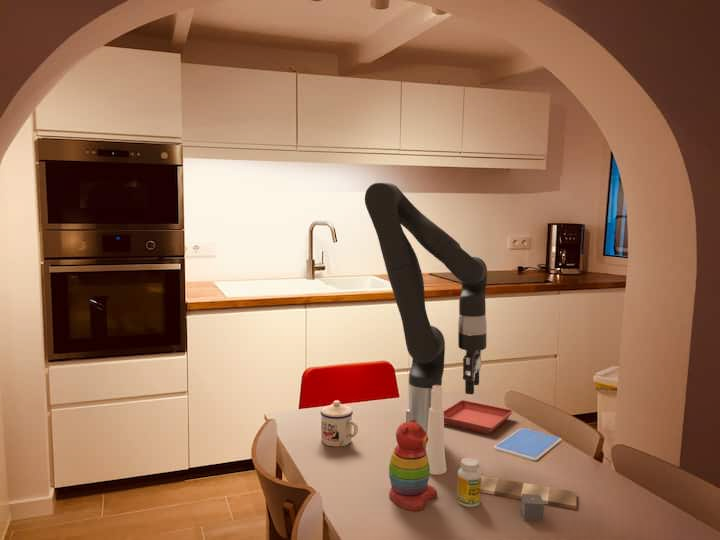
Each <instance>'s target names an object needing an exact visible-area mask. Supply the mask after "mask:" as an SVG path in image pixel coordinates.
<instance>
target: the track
mask: <svg viewBox="0 0 720 540" xmlns="http://www.w3.org/2000/svg"><path fill="white" fill-rule="evenodd" d="M482 493H484V494H489V495H494V496H498V497H505V498H510V499H516V500H522V494H531V495H540V496H541V498H542V500H543V503H544V505H550V506H556V507H560V508H566V509H571V510H577V491H573V490H569V489H561V488H555V487H549V486H545V485H539V484H532V483H527V482H520V481H514V480H511V479H510V480H509V479H503V478H497V477H492V476H486V475H481V494H482Z"/></svg>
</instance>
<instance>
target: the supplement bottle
mask: <svg viewBox="0 0 720 540" xmlns="http://www.w3.org/2000/svg"><path fill="white" fill-rule="evenodd" d="M479 463H480V462H479V460H477V459H475V458H471V457H466V458H462V459H461V461H460V468H459V469H458V470H457V483H456V484H457V487H456V490H457V491H456V492H457V493H456V496H457V497H456V500H457V503H458V504H459V505H461V506H463V507H466V508H468V507H469V508H474V507H477V506H479V505H480V503H481V501H482V500H481V498H482V497H481V496H482V492H481V476H482V472H481V470H480V469H479V468H480V467H479V466H480V464H479Z"/></svg>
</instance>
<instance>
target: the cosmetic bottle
mask: <svg viewBox="0 0 720 540" xmlns="http://www.w3.org/2000/svg"><path fill="white" fill-rule="evenodd" d="M444 411H445V409H444V408H443V389H441V386H440V385H433V389H432V390H431V407H430V408H429V417H428V430H427V435H428V442H427V444H426V448H425V449H426V453H427V456H428V462H429V467H430V474H429V475H432V476H433V475H434V476H438V475H444V474H446V472H447V469H448V468H447V463H446V455H445V454H446V451H445V423H444Z"/></svg>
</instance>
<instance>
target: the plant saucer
mask: <svg viewBox="0 0 720 540" xmlns="http://www.w3.org/2000/svg"><path fill="white" fill-rule="evenodd" d="M513 413H514V410H512V409H508V408H503V407H499V406H495V405H489V404H483V403H479V402H476V401H475V402H474V401H470V400H463V399H461V400H459V401H458V402H456V403H455V404H453V405H451V406H450V407H448V408H447V409H444V424H445V423H446V424H445V425H449V424H450V426H453V425H454V426H453V427H457V426H458V428H461V427H462V429H465V428H466V430H471V431H474V432H477V433H478V432H479V433H482V434H487V435H488V434H490V433H491V432H493V431H494V430H495V429H496V428H498V427H499V426H500V425H501V424H503V423H504V422H505V421H506V420H508V419H509V417H510V416H511V415H512V414H513Z"/></svg>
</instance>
